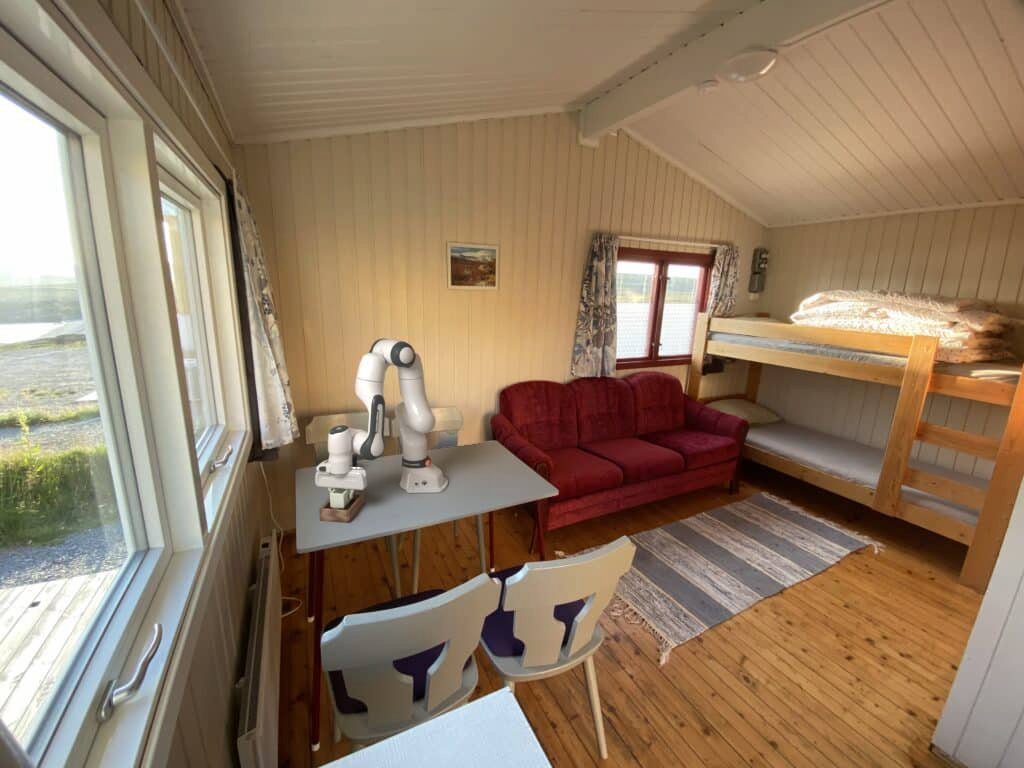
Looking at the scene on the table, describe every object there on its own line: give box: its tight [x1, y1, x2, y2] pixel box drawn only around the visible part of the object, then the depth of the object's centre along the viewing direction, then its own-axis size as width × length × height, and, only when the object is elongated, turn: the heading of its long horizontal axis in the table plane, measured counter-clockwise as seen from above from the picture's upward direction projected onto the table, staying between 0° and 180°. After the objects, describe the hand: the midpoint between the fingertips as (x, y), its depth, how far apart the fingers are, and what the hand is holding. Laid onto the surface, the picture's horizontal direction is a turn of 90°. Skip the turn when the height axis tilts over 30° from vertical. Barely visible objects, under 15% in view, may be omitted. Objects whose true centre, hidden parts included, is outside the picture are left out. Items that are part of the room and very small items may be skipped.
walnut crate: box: [318, 492, 365, 524], centre depth 176 cm, size 12×15×5 cm
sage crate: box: [329, 488, 353, 508], centre depth 175 cm, size 6×9×6 cm, turn 177°
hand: (342, 497), depth 175 cm, fingers closed on sage crate, 5 cm apart
